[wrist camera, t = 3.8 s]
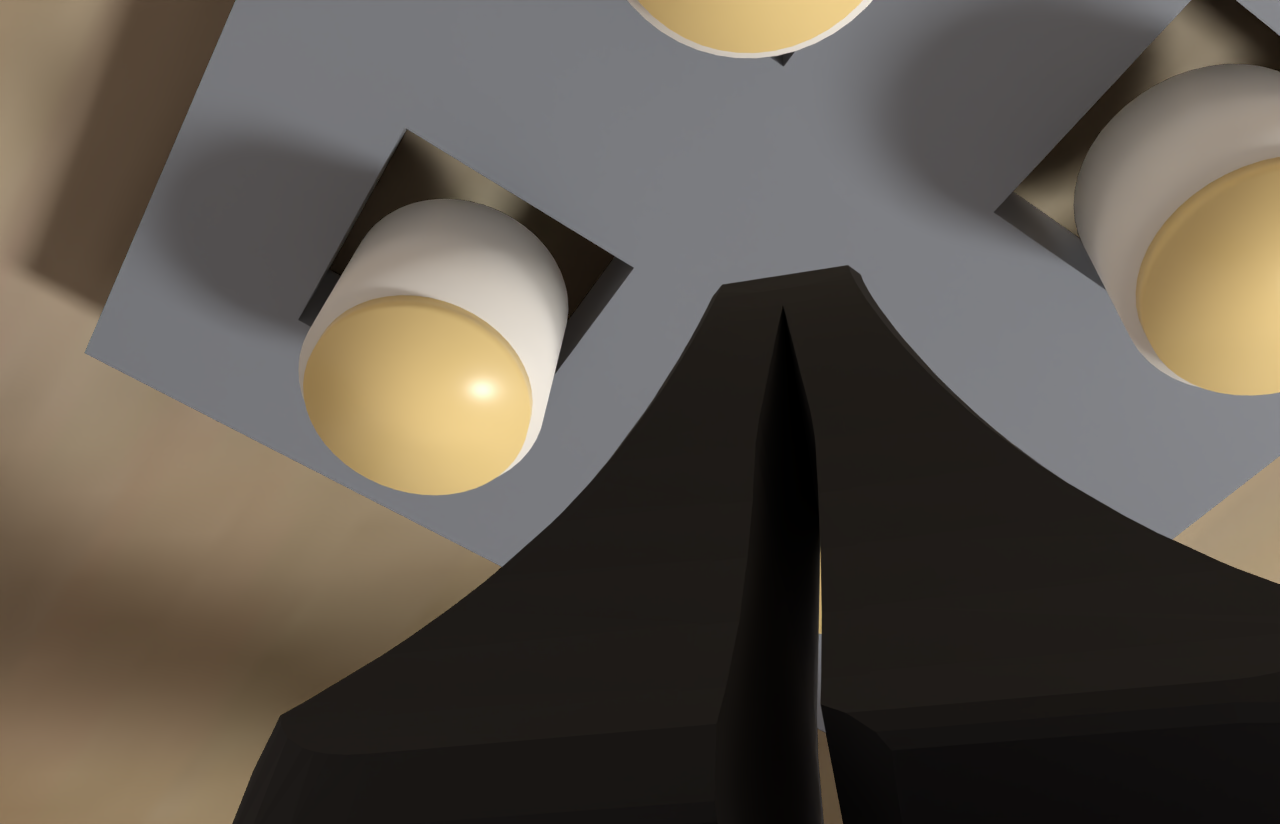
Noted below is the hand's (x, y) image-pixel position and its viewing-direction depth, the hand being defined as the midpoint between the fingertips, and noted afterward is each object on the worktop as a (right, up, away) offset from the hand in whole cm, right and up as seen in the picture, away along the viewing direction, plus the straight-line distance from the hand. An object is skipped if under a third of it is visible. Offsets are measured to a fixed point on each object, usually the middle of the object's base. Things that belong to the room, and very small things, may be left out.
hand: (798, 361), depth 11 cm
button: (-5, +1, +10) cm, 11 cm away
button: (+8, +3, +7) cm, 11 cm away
